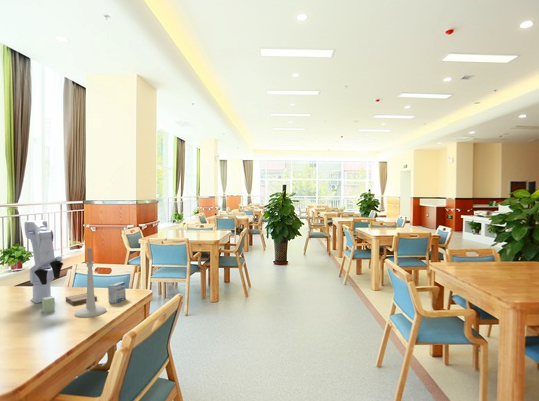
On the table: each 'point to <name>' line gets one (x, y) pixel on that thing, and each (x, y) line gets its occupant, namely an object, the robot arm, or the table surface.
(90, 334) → the table surface
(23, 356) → the table surface
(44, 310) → the sage block
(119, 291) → the medicine box
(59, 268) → the robot arm
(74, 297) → the walnut block
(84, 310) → the candlestick
